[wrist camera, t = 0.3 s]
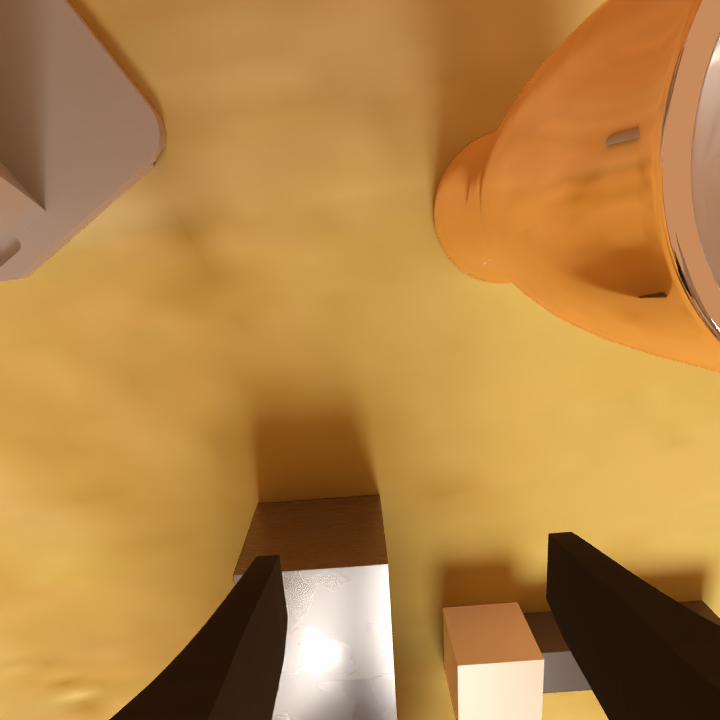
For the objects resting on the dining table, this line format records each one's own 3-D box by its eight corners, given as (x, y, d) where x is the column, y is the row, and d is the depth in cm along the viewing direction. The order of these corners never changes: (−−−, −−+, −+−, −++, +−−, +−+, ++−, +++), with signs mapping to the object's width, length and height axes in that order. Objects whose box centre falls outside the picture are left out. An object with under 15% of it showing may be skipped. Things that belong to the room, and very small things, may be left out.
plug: (694, 648, 25) (747, 710, 22) (444, 666, 25) (458, 732, 22) (703, 588, 24) (760, 643, 21) (442, 606, 24) (457, 665, 21)
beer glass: (416, 130, 18) (664, -282, 4) (588, 109, 18) (1484, -384, 4) (429, 301, 20) (632, 455, 6) (585, 283, 20) (1195, 392, 6)
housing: (395, 765, 27) (406, 880, 22) (294, 773, 27) (282, 889, 22) (379, 494, 23) (387, 564, 18) (257, 503, 22) (233, 575, 18)
